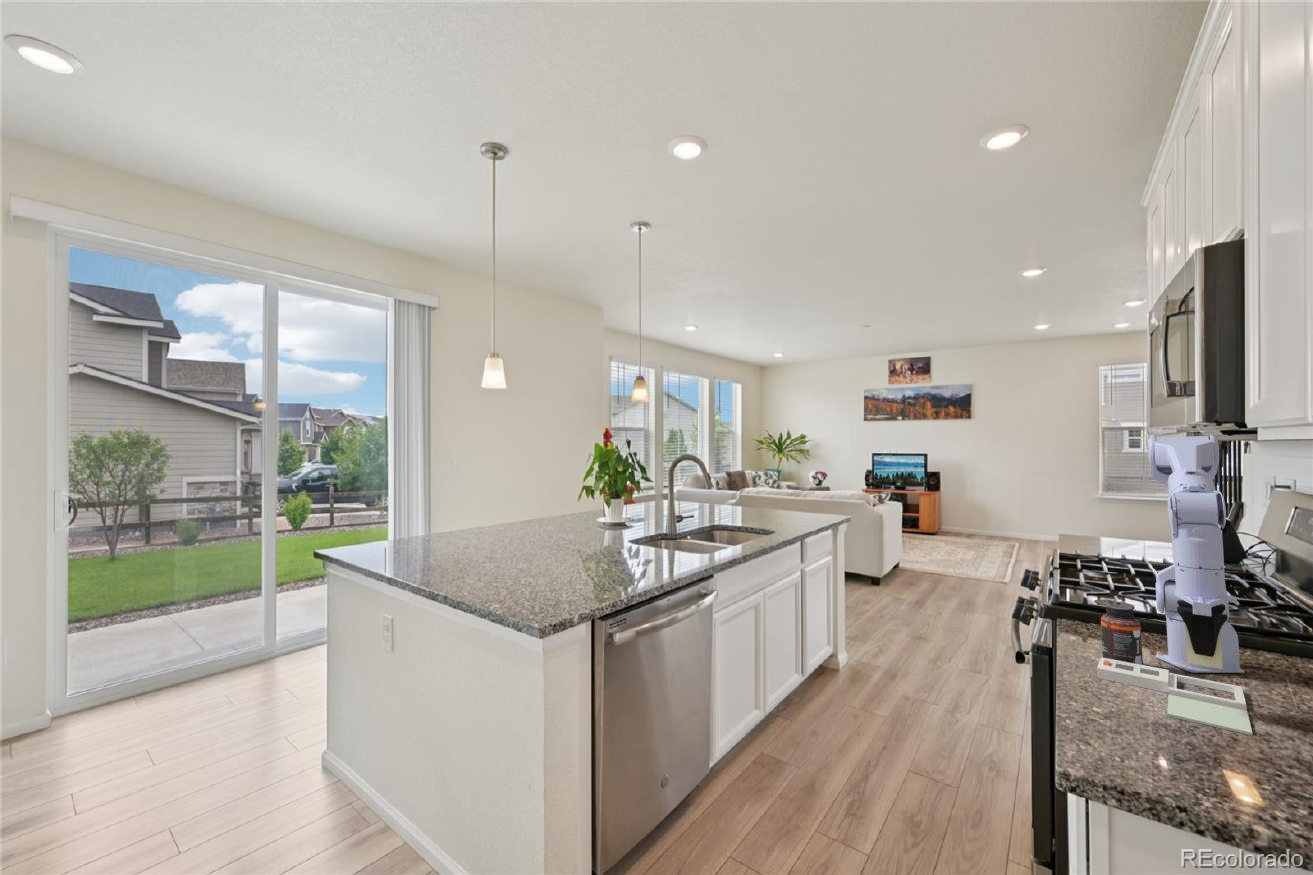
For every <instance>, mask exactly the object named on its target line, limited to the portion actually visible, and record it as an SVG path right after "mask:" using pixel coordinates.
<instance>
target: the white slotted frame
mask: <svg viewBox="0 0 1313 875" xmlns="http://www.w3.org/2000/svg"><path fill="white" fill-rule="evenodd" d="M1096 676H1097V679H1101V680H1105V681H1110V682H1114V683H1115V682H1116V683H1120V684H1123V685H1124V684H1125V685H1128V686H1134V687H1139V688H1142V689H1144V688H1145V689H1148V690H1153V691H1158V692H1163V693H1168V694H1169V695H1174V696H1178V697H1183V698H1188V699H1193V700H1197V701H1202V702H1207V703H1212V704H1216V705H1221V706H1226V707H1231V708H1235V709H1240V710H1245V711H1247V710H1248V709H1247V703H1246V699H1245V695H1244V690H1243V687H1242V686H1240V685H1236V684H1229V683H1226V682H1219V681H1213V680H1208V679H1204V678H1203V679H1202V678H1200V677H1194V676H1188V675H1184V674H1183V675H1182V674H1176V673H1174V672H1173V673H1172V672H1170V670H1169V669H1165V668H1160V667H1154V666H1150V665H1149V666H1148V665H1144V664H1143V665H1140V664H1134V663H1129V662H1124V661H1118V660H1113V659H1108V658H1103V656H1102V657H1100V659H1099V661H1098V664H1097V668H1096ZM1178 683H1181V684H1187V685H1193V686H1197V687H1203V688H1208V689H1213V690H1218V691H1222V692H1227V693H1233V695H1234V699H1231V698H1230V699H1229V698H1225V697H1220V696H1216V695H1210V694H1209V695H1208V694H1205V693H1199V692H1195V691H1190V690H1186V689H1180V688H1178ZM1247 712H1248V711H1247Z"/></svg>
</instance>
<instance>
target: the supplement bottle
mask: <svg viewBox="0 0 1313 875" xmlns="http://www.w3.org/2000/svg"><path fill="white" fill-rule="evenodd" d="M1105 607H1106V609H1105V610H1106V613H1105V614H1103V615H1101V617H1100V632H1101V633H1100V634H1101V635H1100V636H1101V649H1102V650H1101V651H1102V658H1108V659H1113V660H1118V661H1124V662H1129V663H1134V664H1140V665H1144V662H1143V645H1142V644H1143V643H1142V627H1141V626H1142V625H1141V622H1140V621H1139V620H1138V619H1136V618H1135V616H1134V608H1133V607H1132V606H1129V605H1125V604H1117V603H1107V604H1106V606H1105Z"/></svg>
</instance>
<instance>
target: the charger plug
mask: <svg viewBox="0 0 1313 875" xmlns="http://www.w3.org/2000/svg"><path fill="white" fill-rule="evenodd" d="M1185 635H1186V653H1187V663H1190V664H1196V665H1202V666H1207V667H1213V668H1218V669H1223V664H1222V646H1221V630H1220V632H1219V635H1218V639H1217V645H1216V650H1215V654H1214V656H1213V657H1210V656H1204V655H1198V654H1195V652H1194V650H1193V647H1192V644H1191V640H1190V636H1189V633H1188V630H1187V627H1186V625H1185Z"/></svg>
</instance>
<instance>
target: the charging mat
mask: <svg viewBox="0 0 1313 875" xmlns="http://www.w3.org/2000/svg"><path fill="white" fill-rule="evenodd" d="M1166 711H1167V712H1166V713H1167V717H1171V718H1174V719H1178V720H1179V719H1180V720H1182V721H1183V720H1184V721H1188V722H1193V723H1196V724H1201V725H1204V726H1210V727H1214V728H1219V729H1222V730H1226V731H1231V732H1234V733H1240V734H1243V735H1247V736H1251V737H1253V730H1252V725H1251V721H1250V718H1249V713H1248V711H1245V710H1240V709H1235V708H1231V707H1226V706H1221V705H1216V704H1212V703H1207V702H1202V701H1197V700H1193V699H1188V698H1183V697H1178V696H1174V695H1169V694H1168V696H1167V710H1166Z"/></svg>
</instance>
